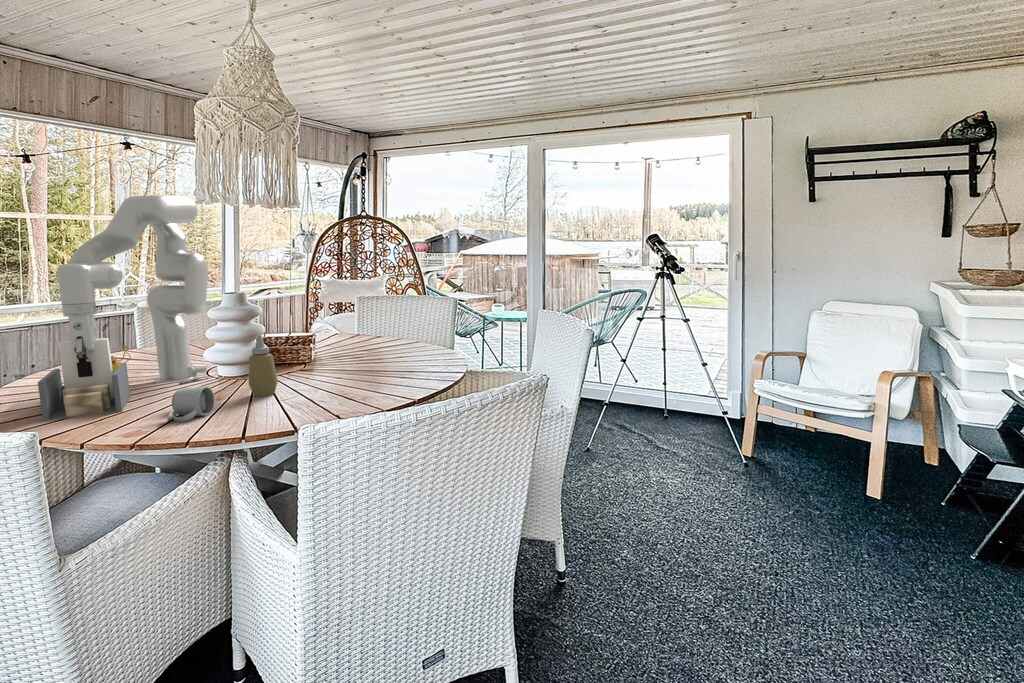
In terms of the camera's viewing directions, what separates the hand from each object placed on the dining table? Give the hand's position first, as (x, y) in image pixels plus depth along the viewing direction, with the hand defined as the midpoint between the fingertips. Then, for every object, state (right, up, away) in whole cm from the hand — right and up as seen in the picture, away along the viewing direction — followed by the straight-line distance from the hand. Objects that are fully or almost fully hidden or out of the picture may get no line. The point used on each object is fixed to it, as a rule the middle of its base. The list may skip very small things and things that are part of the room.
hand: (88, 373), depth 168 cm
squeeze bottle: (+42, -7, +15) cm, 46 cm away
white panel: (0, -9, +2) cm, 9 cm away
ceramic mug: (+32, -11, -6) cm, 35 cm away
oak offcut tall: (+2, -9, -3) cm, 10 cm away
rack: (+2, -11, -2) cm, 11 cm away
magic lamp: (-23, -4, +43) cm, 49 cm away
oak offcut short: (+4, -10, -7) cm, 13 cm away
